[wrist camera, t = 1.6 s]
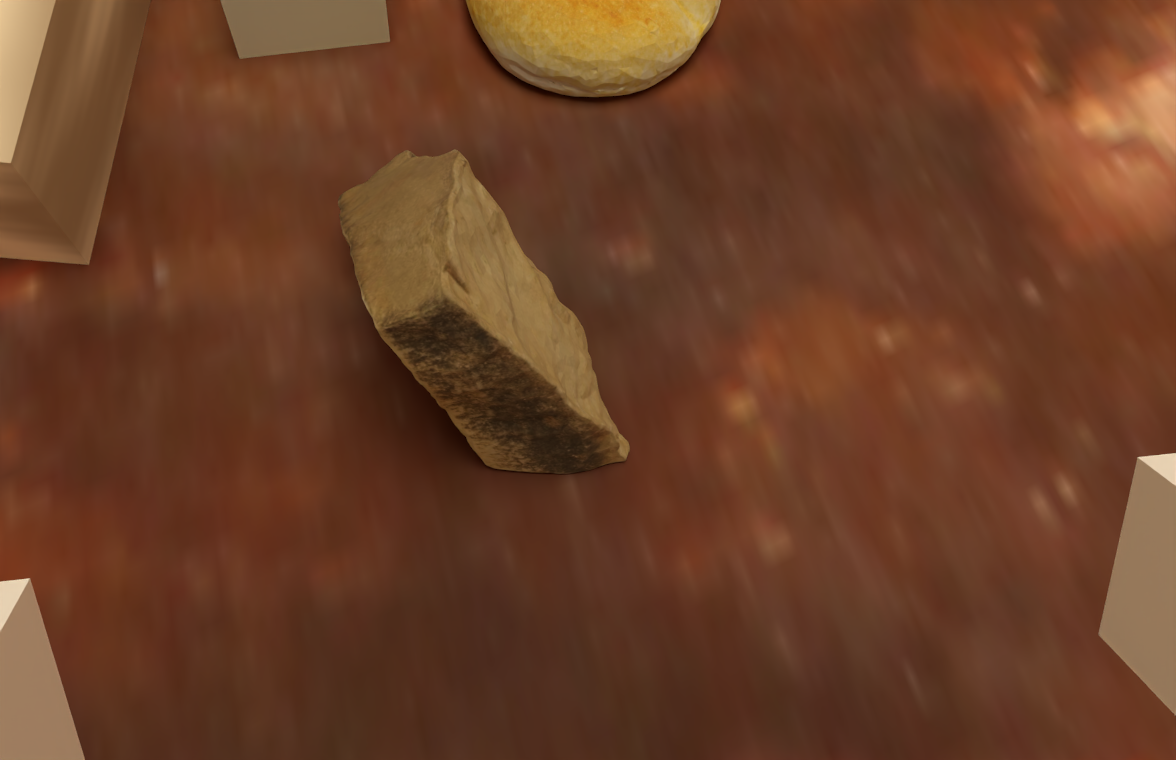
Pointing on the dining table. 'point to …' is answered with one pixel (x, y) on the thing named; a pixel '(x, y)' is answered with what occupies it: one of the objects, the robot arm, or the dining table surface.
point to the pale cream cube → (304, 25)
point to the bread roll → (592, 41)
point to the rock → (476, 317)
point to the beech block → (61, 119)
